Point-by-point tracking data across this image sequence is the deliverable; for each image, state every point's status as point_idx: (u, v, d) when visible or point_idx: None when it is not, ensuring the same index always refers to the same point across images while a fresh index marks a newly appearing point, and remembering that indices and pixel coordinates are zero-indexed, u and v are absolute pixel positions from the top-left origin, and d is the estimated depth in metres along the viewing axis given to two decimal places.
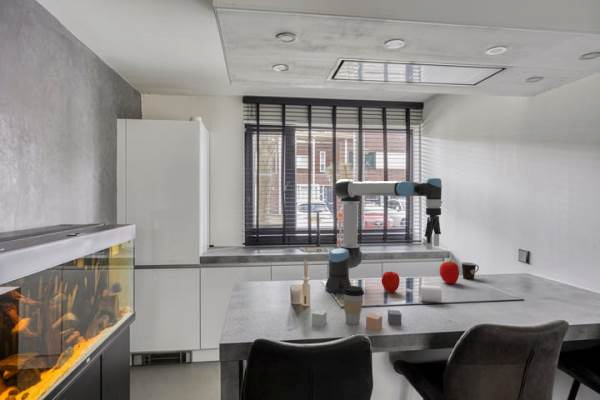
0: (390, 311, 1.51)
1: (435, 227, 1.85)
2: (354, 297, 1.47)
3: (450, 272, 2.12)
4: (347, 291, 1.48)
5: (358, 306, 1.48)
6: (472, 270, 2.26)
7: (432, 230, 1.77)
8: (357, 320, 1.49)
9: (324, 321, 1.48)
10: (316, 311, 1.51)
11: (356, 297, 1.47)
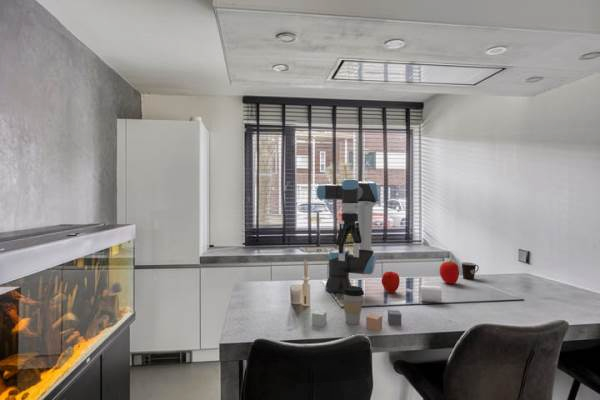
0: (390, 311, 1.51)
1: (353, 235, 1.63)
2: (354, 297, 1.47)
3: (450, 272, 2.12)
4: (347, 291, 1.48)
5: (358, 306, 1.48)
6: (472, 270, 2.26)
7: (345, 238, 1.54)
8: (357, 320, 1.49)
9: (324, 321, 1.48)
10: (316, 311, 1.51)
11: (356, 297, 1.47)
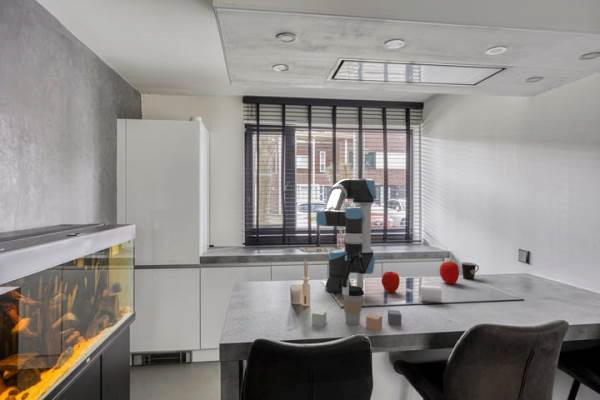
0: (390, 311, 1.51)
1: (357, 265, 1.54)
2: (354, 297, 1.47)
3: (450, 272, 2.12)
4: None
5: (358, 306, 1.48)
6: (472, 270, 2.26)
7: (349, 271, 1.45)
8: (357, 320, 1.49)
9: (324, 321, 1.48)
10: (316, 311, 1.51)
11: (356, 297, 1.47)
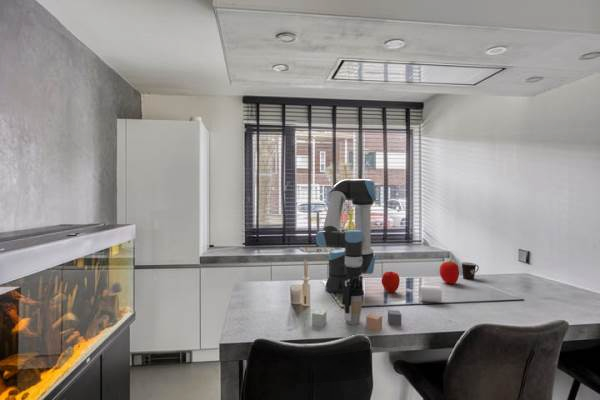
0: (390, 311, 1.51)
1: None
2: (354, 297, 1.47)
3: (450, 272, 2.12)
4: None
5: (358, 306, 1.48)
6: (472, 270, 2.26)
7: None
8: (357, 320, 1.49)
9: (324, 321, 1.48)
10: (316, 311, 1.51)
11: (356, 297, 1.47)
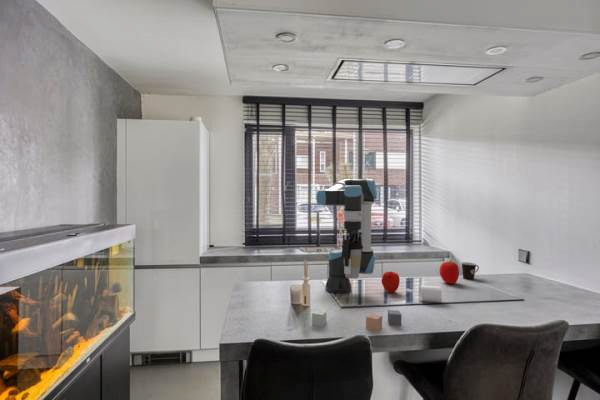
0: (390, 311, 1.51)
1: None
2: (353, 251, 1.48)
3: (450, 272, 2.12)
4: None
5: (357, 260, 1.49)
6: (472, 270, 2.26)
7: (350, 250, 1.48)
8: (356, 274, 1.50)
9: (324, 321, 1.48)
10: (316, 311, 1.51)
11: (355, 251, 1.48)
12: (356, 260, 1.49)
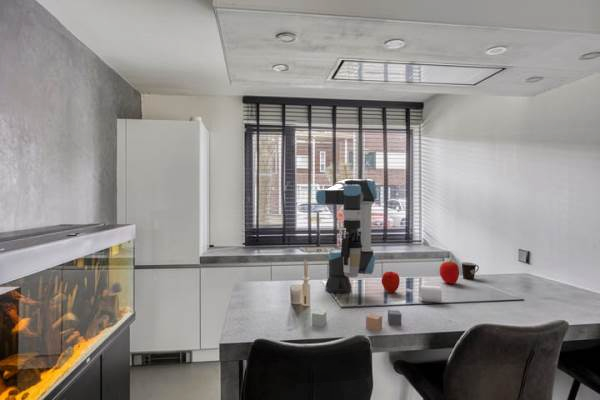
0: (390, 311, 1.51)
1: None
2: (353, 249, 1.49)
3: (450, 272, 2.12)
4: None
5: (357, 258, 1.50)
6: (472, 270, 2.26)
7: (349, 249, 1.49)
8: (356, 273, 1.51)
9: (324, 321, 1.48)
10: (316, 311, 1.51)
11: (355, 249, 1.49)
12: (355, 259, 1.50)
